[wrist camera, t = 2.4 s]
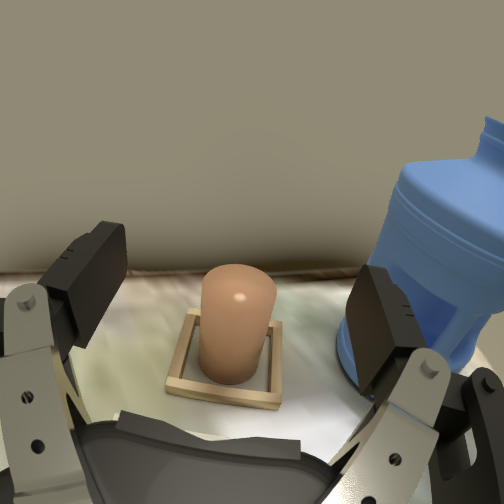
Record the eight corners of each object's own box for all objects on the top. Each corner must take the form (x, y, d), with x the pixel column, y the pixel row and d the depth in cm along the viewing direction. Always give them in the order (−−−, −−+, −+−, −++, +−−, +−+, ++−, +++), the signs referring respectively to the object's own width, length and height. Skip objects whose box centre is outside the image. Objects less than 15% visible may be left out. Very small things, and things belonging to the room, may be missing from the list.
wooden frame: (279, 330, 35) (282, 321, 34) (277, 410, 26) (281, 402, 26) (188, 316, 35) (189, 307, 34) (166, 392, 26) (165, 384, 25)
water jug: (333, 302, 40) (399, 84, 25) (432, 321, 39) (515, 136, 24) (332, 404, 27) (469, 97, 12) (456, 413, 26) (603, 187, 11)
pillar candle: (260, 328, 35) (277, 256, 30) (255, 388, 28) (276, 318, 23) (207, 319, 35) (213, 246, 30) (194, 379, 28) (194, 305, 23)
